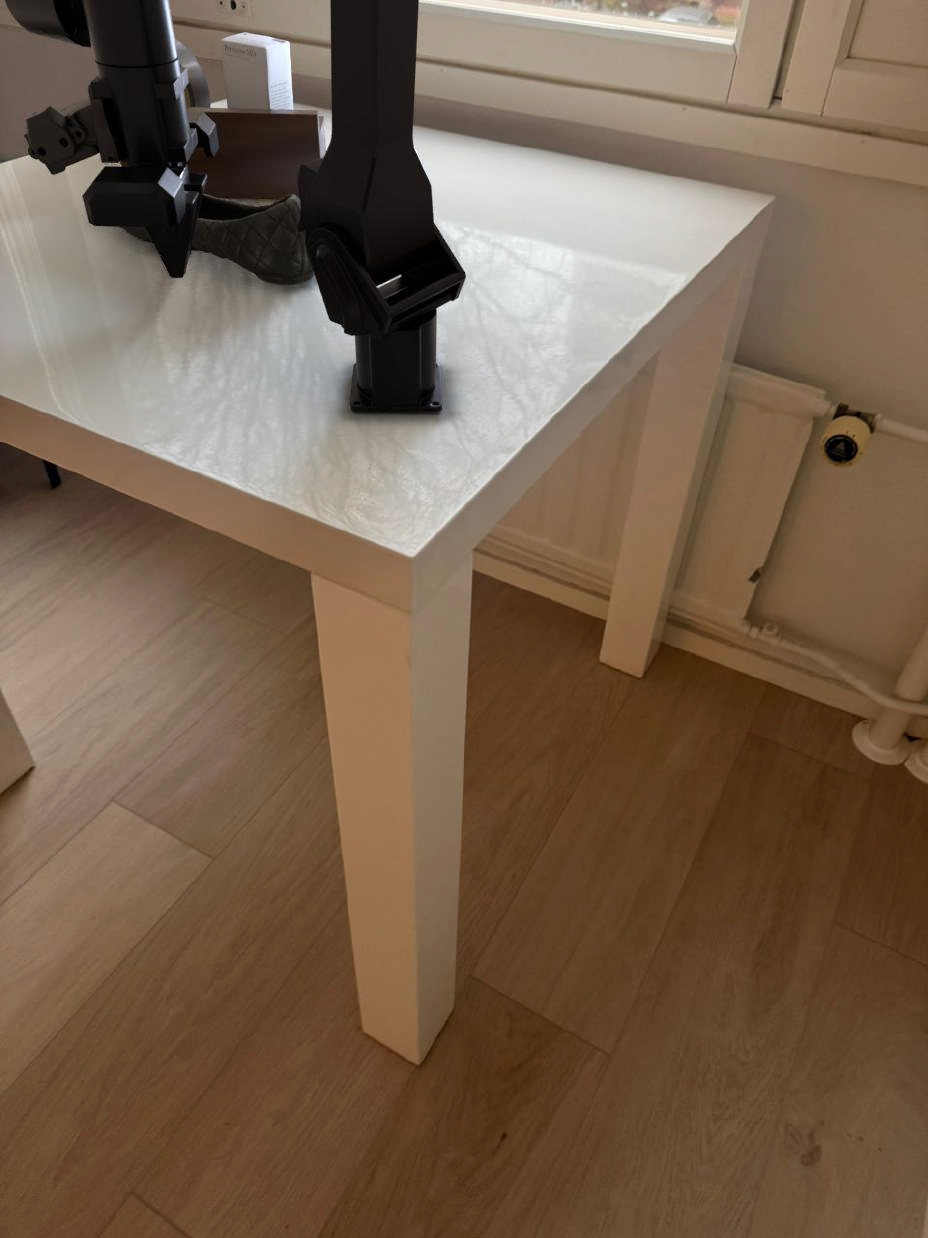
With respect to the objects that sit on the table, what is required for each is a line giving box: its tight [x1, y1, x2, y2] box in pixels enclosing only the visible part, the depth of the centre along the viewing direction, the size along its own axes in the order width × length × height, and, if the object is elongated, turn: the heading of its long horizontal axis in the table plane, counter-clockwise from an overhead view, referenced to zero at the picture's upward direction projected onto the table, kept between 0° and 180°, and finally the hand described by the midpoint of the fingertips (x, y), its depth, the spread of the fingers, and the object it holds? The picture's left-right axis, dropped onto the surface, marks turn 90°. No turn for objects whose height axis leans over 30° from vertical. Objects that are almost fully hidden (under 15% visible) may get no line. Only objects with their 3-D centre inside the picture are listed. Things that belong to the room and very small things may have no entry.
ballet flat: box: [119, 193, 315, 286], centre depth 82 cm, size 9×26×7 cm, turn 57°
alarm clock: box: [175, 38, 212, 108], centre depth 98 cm, size 11×5×16 cm, turn 73°
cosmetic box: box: [220, 31, 294, 110], centre depth 98 cm, size 6×4×12 cm
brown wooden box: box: [119, 107, 327, 200], centre depth 94 cm, size 7×20×8 cm, turn 93°
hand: (177, 276), depth 75 cm, fingers closed
